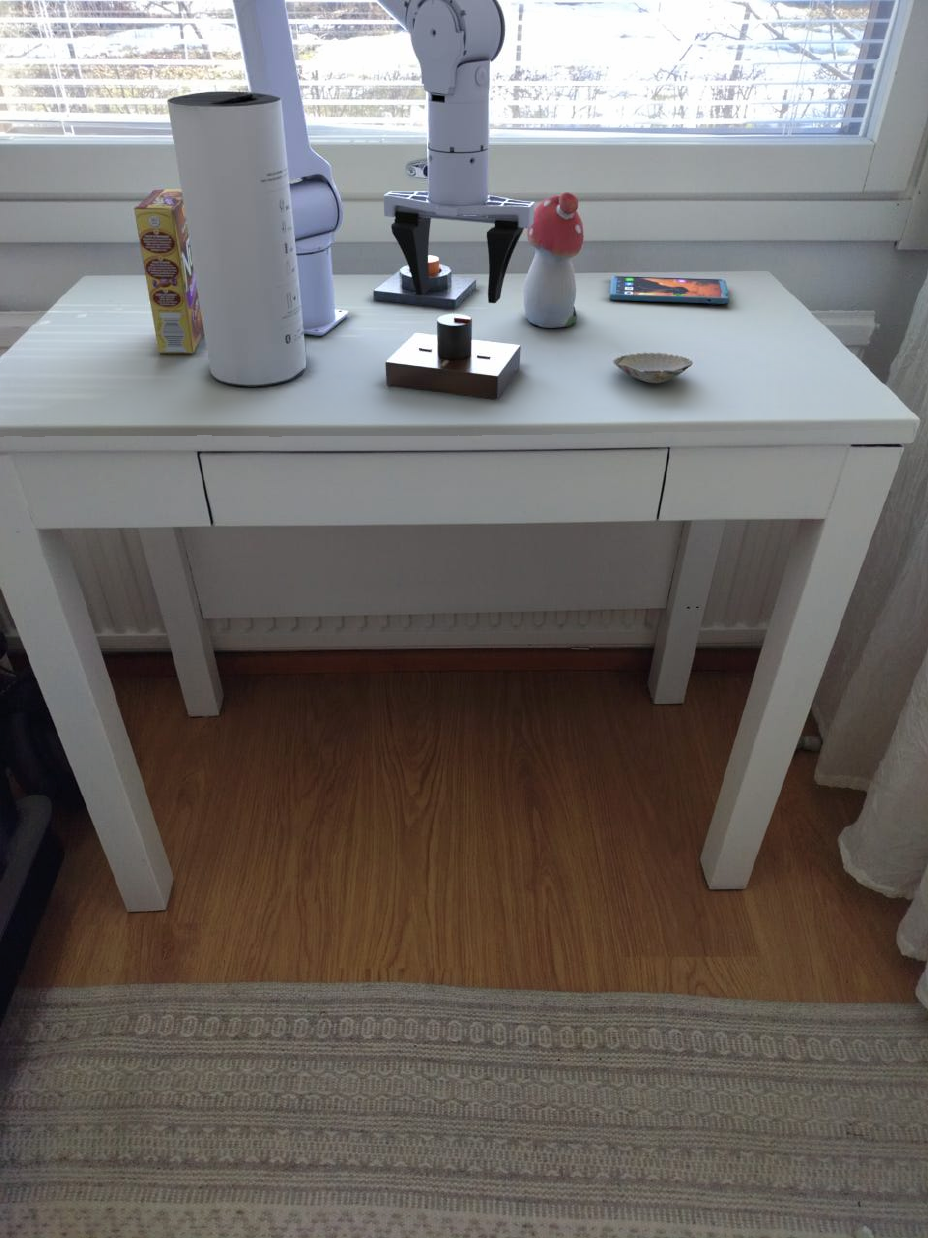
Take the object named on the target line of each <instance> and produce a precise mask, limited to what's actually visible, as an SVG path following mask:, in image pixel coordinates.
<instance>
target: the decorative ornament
mask: <svg viewBox="0 0 928 1238" xmlns="http://www.w3.org/2000/svg"><path fill="white" fill-rule="evenodd" d="M578 209H579V200H578V198H577V196H576V195H575V194H573V193H571V192H563V193H562V194H560V195H552V196H549V197H547V198H546V199H543V201H541V202H540V203H539V204H538V205H537V206H536V208H534V222H533V224H532V225H531V226H530V227H529V228H526V238H527V239H526V240H527V241H528V243H529V245H530V246H531V247H534V248H535V254H534V257H533V260H532V261H531V264H530V266H529V269H528V271H527V274H526V277H525V280H524V285H523V308H524V315H525V317H526V319H527V320H528V322H529V323H530V324H532V325H535V326H538V327H540V328H549V329H554V328H568V327H571V326H572V325H573V324H575V322H576V321H577V320H578V314H577V311H576V307H575V302H576V298H577V297H576V295H577V283H576V281H577V280H576V273H575V268H574V266H573V262H572V259H571V258H574V257H575V256H577V255H578V254H579V253H580V251H581V249H582V247H583V244H584V239H585V238H584V224H583V222H582V219H581V215H580V214H579V212H578Z"/></svg>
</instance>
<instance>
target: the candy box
mask: <svg viewBox="0 0 928 1238" xmlns="http://www.w3.org/2000/svg"><path fill="white" fill-rule="evenodd" d="M133 211H134V216H135V221H136V228H137V234H138V239H139V245H140V251H141V257H142V262H143V268H144V274H145V275H144V276H145V280H146V281H145V282H146V286H147V292H148V293H147V294H148V300H149V305H150V310H151V314H152V315H151V316H152V322H153V327H154V333H155V340H156V344H157V352H158V353H159V354H181V355H183V354H194V353H195V351H196V349H197V347H198V346H199V343H200V341H201V340H202V337H203V336H204V329H203V323H202V317H201V310H200V304H199V298H198V291H197V285H196V279H195V272H194V266H193V260H192V253H191V247H190V240H189V234H188V228H187V221H186V215H185V209H184V203H183V196H182V190H181V188H168V189H167V188H165V189H154V190H152V191H151V192H150V194H149V195H148V196H147V197H145V198H144V199H143V200H142V201H141V202H140V203H139V204H138V205H137V206H135V207H134V208H133Z"/></svg>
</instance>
